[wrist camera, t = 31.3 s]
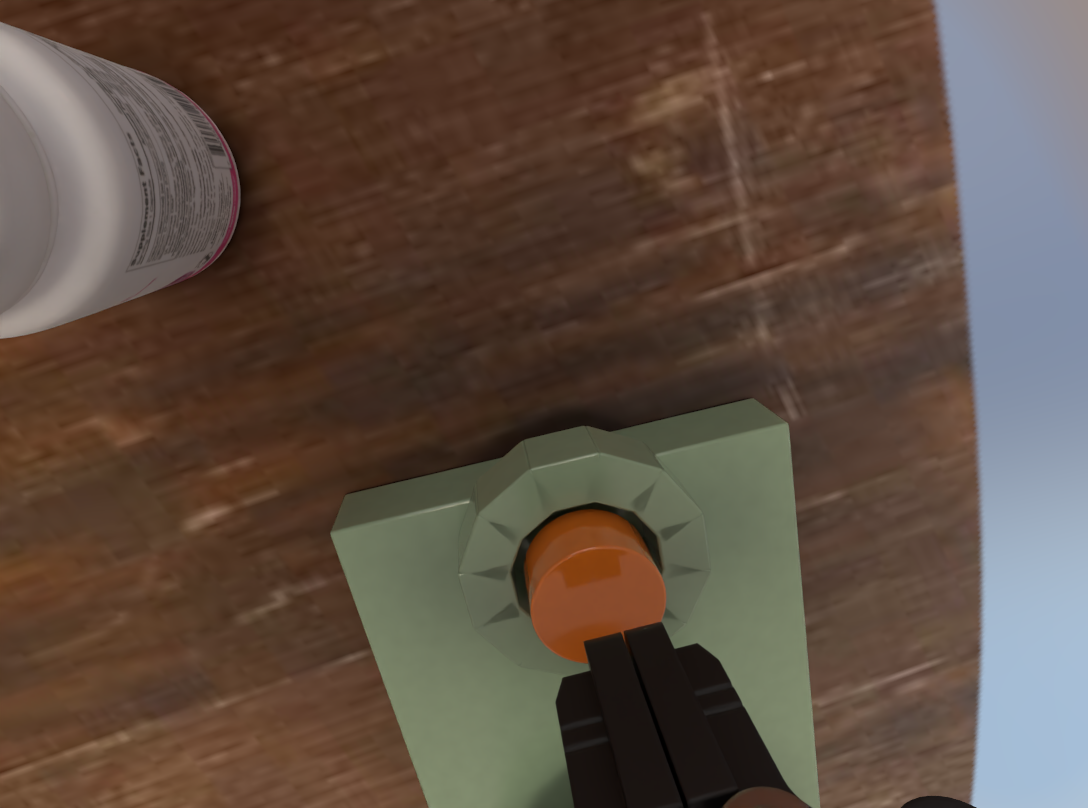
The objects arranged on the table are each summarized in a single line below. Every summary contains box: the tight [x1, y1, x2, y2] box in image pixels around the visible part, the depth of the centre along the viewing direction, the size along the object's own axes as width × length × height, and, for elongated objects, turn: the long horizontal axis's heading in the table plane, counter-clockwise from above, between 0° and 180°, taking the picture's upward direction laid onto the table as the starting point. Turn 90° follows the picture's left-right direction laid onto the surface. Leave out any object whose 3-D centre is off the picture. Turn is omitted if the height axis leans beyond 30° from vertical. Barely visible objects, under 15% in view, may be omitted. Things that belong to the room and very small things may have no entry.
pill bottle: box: [0, 22, 240, 339], centre depth 11 cm, size 5×5×8 cm
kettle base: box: [330, 398, 820, 808], centre depth 19 cm, size 19×12×4 cm, turn 12°
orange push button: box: [524, 509, 667, 664], centre depth 15 cm, size 3×3×2 cm
